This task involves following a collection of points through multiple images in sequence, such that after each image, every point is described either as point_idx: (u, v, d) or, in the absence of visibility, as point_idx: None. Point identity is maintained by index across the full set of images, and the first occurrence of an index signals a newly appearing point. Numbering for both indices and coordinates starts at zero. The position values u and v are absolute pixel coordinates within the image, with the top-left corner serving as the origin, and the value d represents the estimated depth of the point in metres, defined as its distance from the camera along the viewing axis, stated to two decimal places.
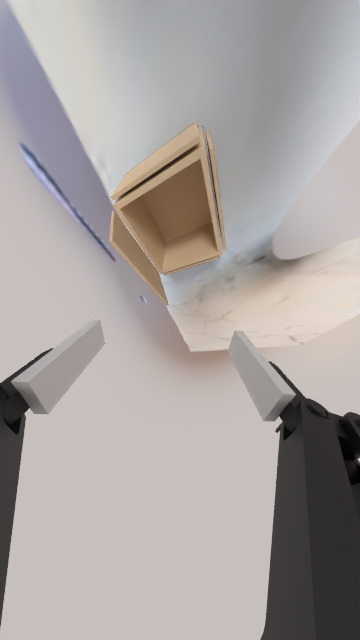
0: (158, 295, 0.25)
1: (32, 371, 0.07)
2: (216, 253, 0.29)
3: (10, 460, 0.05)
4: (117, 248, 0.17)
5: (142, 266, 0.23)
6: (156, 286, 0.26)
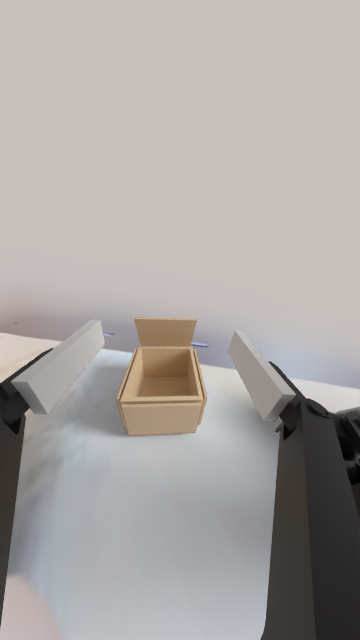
0: (149, 318, 0.30)
1: (32, 371, 0.07)
2: (125, 395, 0.25)
3: (11, 460, 0.05)
4: (192, 319, 0.31)
5: (169, 328, 0.33)
6: (152, 324, 0.32)
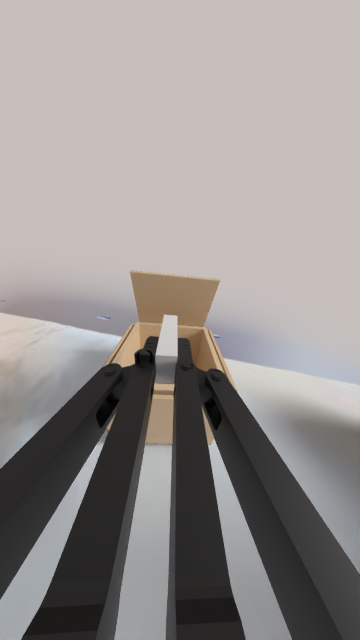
0: (152, 273, 0.21)
1: (162, 349, 0.09)
2: None
3: (147, 422, 0.07)
4: (213, 279, 0.22)
5: (179, 292, 0.24)
6: (156, 284, 0.22)
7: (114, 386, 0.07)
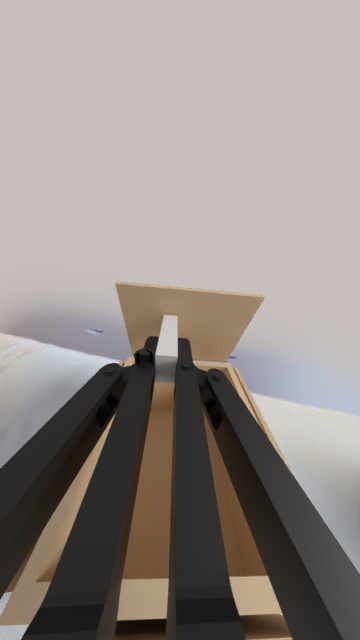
0: (153, 285, 0.13)
1: (162, 349, 0.09)
2: (38, 566, 0.07)
3: (146, 422, 0.07)
4: (253, 295, 0.13)
5: (196, 316, 0.15)
6: (159, 303, 0.14)
7: (114, 386, 0.07)
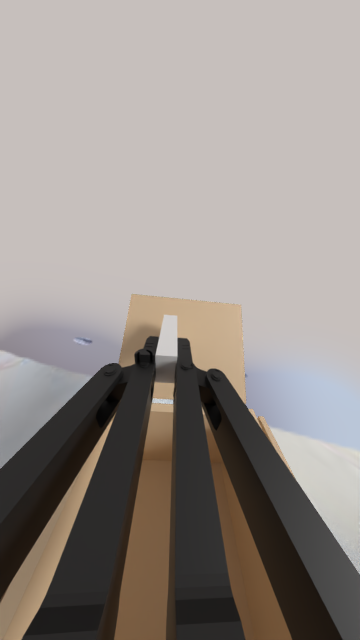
0: None
1: (162, 349, 0.09)
2: None
3: (147, 422, 0.07)
4: None
5: (193, 322, 0.17)
6: (162, 309, 0.17)
7: (114, 386, 0.07)
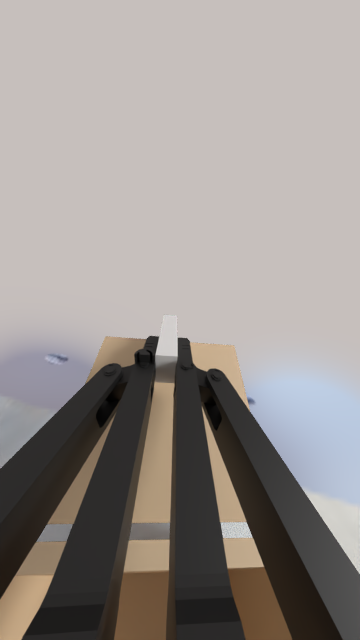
0: None
1: (162, 349, 0.09)
2: None
3: (147, 422, 0.07)
4: None
5: None
6: None
7: (114, 386, 0.07)
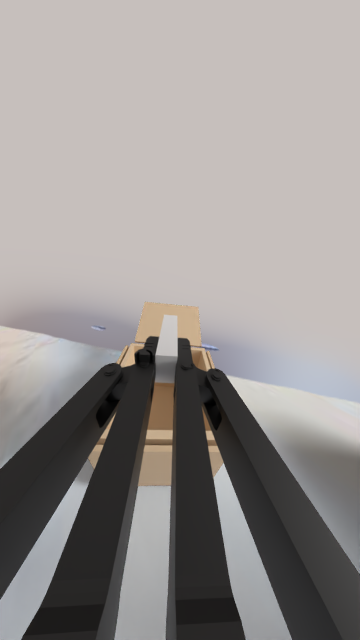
0: None
1: (162, 349, 0.09)
2: None
3: (147, 422, 0.07)
4: (194, 307, 0.37)
5: (174, 313, 0.34)
6: (159, 308, 0.35)
7: (114, 386, 0.07)
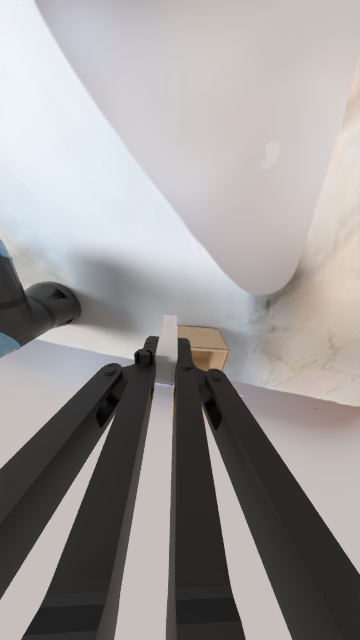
0: None
1: (162, 349, 0.09)
2: (225, 353, 0.40)
3: (147, 422, 0.07)
4: None
5: None
6: None
7: (114, 386, 0.07)
